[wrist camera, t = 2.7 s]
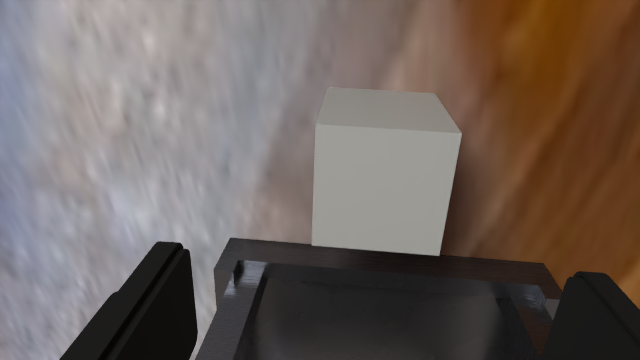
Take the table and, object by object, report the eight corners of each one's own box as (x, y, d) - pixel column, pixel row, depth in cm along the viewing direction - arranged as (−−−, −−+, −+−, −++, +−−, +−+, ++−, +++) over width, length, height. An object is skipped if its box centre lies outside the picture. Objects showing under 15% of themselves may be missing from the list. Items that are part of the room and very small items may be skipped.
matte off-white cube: (434, 93, 20) (462, 133, 14) (419, 189, 22) (439, 256, 17) (328, 87, 20) (315, 123, 15) (323, 182, 22) (311, 245, 17)
